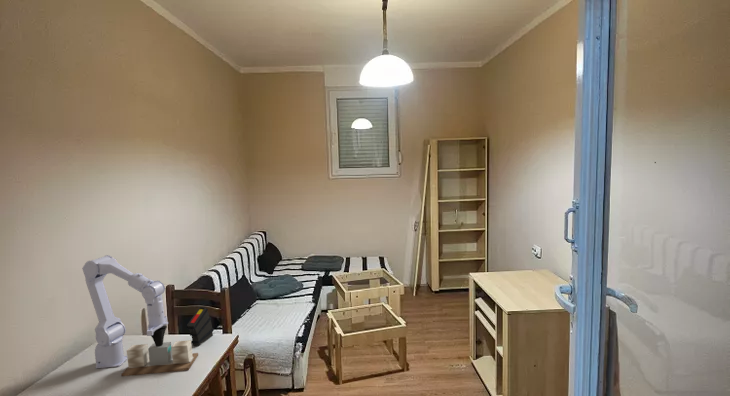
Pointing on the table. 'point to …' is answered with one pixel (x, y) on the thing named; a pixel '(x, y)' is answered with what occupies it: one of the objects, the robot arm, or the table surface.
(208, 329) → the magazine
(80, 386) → the table surface
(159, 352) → the block
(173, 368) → the board
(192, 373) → the table surface
